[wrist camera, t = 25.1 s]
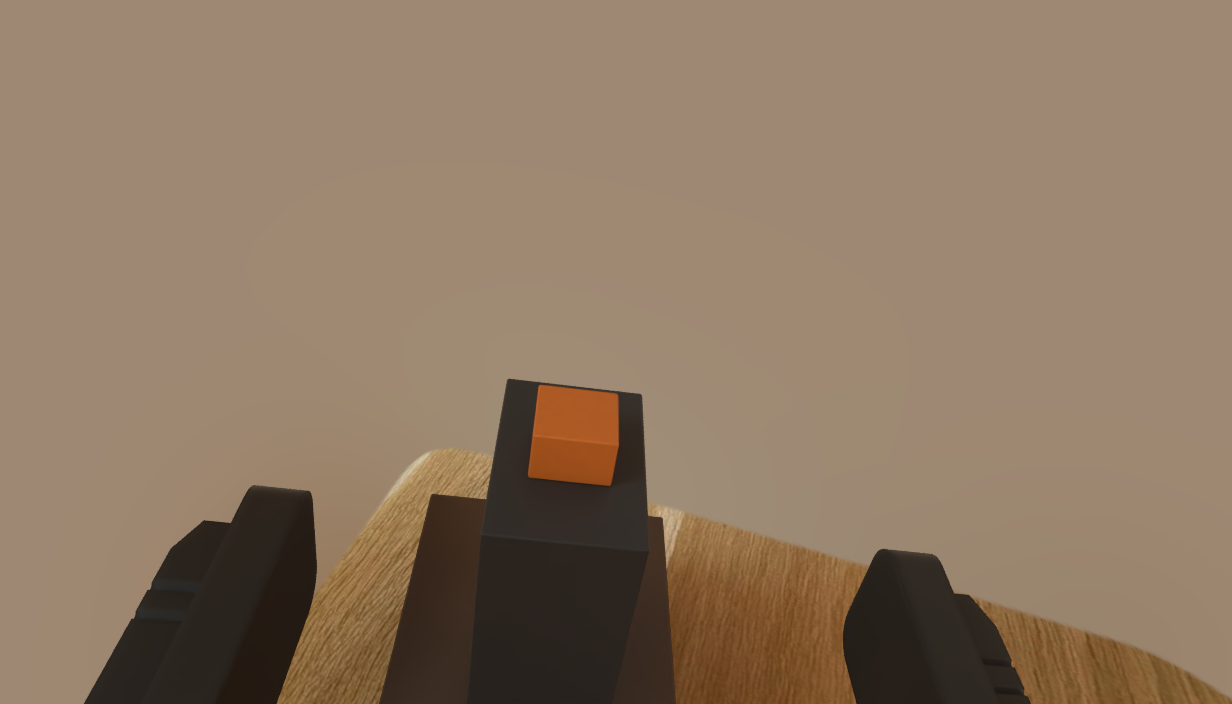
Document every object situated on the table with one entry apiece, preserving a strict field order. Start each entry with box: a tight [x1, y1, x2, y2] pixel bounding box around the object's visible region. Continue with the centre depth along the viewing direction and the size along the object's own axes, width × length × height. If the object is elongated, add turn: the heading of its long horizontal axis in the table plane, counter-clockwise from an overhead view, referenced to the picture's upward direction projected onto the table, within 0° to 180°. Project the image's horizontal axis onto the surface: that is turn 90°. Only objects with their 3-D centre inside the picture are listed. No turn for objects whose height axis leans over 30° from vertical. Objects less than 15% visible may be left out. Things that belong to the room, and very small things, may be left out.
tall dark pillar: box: [466, 379, 649, 704], centre depth 28 cm, size 4×7×14 cm, turn 0°
